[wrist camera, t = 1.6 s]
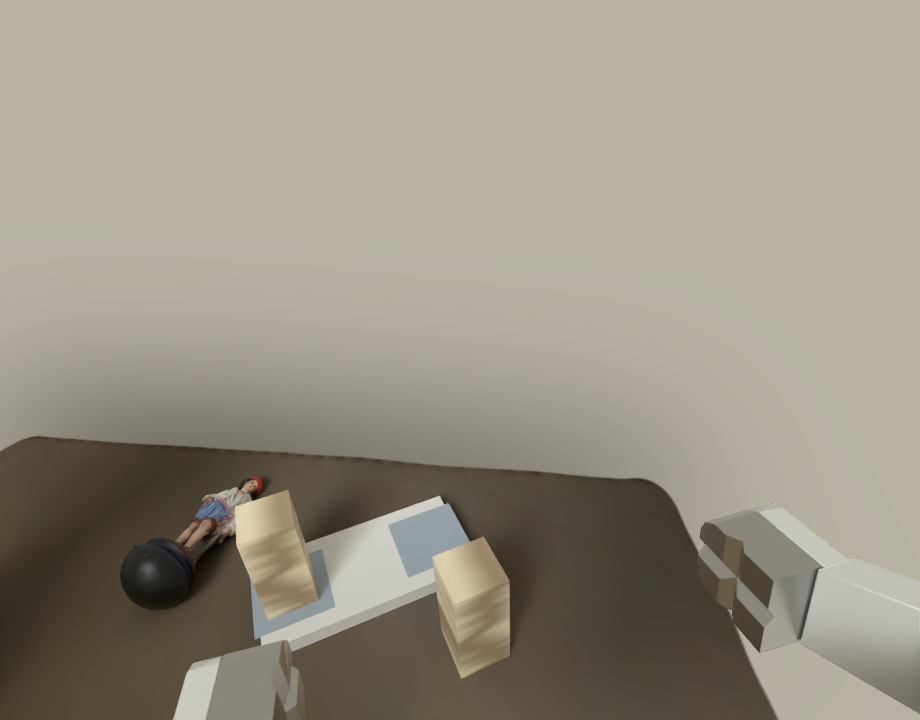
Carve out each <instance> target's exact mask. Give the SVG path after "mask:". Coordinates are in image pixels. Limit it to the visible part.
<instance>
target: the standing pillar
mask: <svg viewBox="0 0 920 720" xmlns="http://www.w3.org/2000/svg"><path fill="white" fill-rule="evenodd" d="M235 521H236V544H237V548H238V550H239V553H240V555H241V557H242V560H243V562H244V564H245V567H246V569H247V571H248V574H249V576H250V579H251V581H252V583H253V586H254V588H255V590H256V593H257V595H258V597H259V600H260V602H261V605H262V607H263V609H264V612H265V614H266V616H267V619H268V620H271V619H274V618H276V617H279V616H281V615H284V614H286V613H289V612H291V611H294V610H296V609H299V608H302V607H304V606H307V605H309V604H312V603H314V602H317V601H319V598H318V593H317V588H316V583H315V578H314V573H313V568H312V563H311V560H310V557H309V554H308V550H307V547H306V544H305V541H304V538H303V535H302V532H301V528H300V525H299V522H298V519H297V516H296V513H295V509H294V506H293V503H292V500H291V497H290V494H289V491H288V490H286V491H283V492H280V493H276V494H273V495H270V496H267V497H264V498H261V499H258V500H254V501H251V502H248V503H245V504H242V505H239V506H235Z"/></svg>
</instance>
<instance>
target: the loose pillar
mask: <svg viewBox="0 0 920 720" xmlns="http://www.w3.org/2000/svg"><path fill="white" fill-rule="evenodd" d="M432 559H433V567H434V575H435V583H436V591H437V599H438V607H439V614H440V622H441V630H442V633H443V635H444V638H445V640H446V643H447V645H448V647H449V650H450V652H451V655H452V657H453V660H454V662H455V664H456V667H457V669H458V672H459V674H460V677H461V679H462V678H464V677H467V676H469V675H471V674H473V673H475V672H477V671H479V670H481V669H483V668H485V667H487V666H489V665H491V664H493V663H495V662H498V661H500V660H502V659H504V658H506V657H508V656H510V586H509V579H508V577H507V576H506V574H505V572H504V571H503V569H502V567H501V565H500V564H499V562H498V560H497V559H496V557H495V555H494V554H493V552H492V550H491V548H490V547H489V545H488V543H487V542H486V540H485V538H484V537H481V538H479V539H476V540H474V541H471V542H468V543H466V544H463V545H461V546H458V547H456V548H453V549H451V550H448V551H446V552H443V553H440V554H438V555H435V556H433V557H432Z"/></svg>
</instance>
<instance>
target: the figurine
mask: <svg viewBox="0 0 920 720" xmlns="http://www.w3.org/2000/svg"><path fill="white" fill-rule="evenodd" d="M262 485H263V481H262V479H261V478H259V477H257V476H253V477H250V478H248V479H246V480H243V481H242V483H241V485H240V487H239V488H237V487H234V488H232V489H230V490H225V491H223V492H220V493H218V494H212V495H206V496H205V497H204V498H203V499H202V506H201V507H200V508H199V510H198V511H197V513H196V516H195V517H193V518H192V520H191V525H190V526H189V528H188V529H186V530H185V531H184V532H183V533H182V534H181V535H180V536H179V538H178V539H177V540H176V541H174V542H173V541H171V540H168V539H166V538H153V539H151V540H149V541H148V542H147V544H141V545H138V546H136V545H135V546H134V547H133V549H132V550H131V551H130V552H129V554H128V555H127V556H126V558H125V559H124V561H123V564H122V567H121V572H120V578H121V584H122V588H123V590H124V592H125V593H126V595H127V596H128V597H129V599H130V600H131V601H132V602H134V603H135V604H137V605H139V606H140V607H143V608H146V609H152V610H163V609H167V608H170V607H172V606H174V605H176V604H178V603H179V602H180V601H181V600H182V599H183V598H184V596H185V594H186V593H187V591H188V586H190V585H191V584H192V583H193V582H194V580H195V567H196V562H197V561H198V560H199V558H200V557H201V556H202V554H203V553H204V552H205V551H206V550H208V549H209V548H210V547H211V546H212V545H213V544H215V543H218V544H221V543H222V542H223V540H224V537H226V536H227V535H228V536H230V537H231V536H233V535H235V534H236V521H235V506H239V505H242V504H245V503H248V502H251V501H254V499H253V498H254V497H256V496H257V495H258V494H259V493H260V491H261V489H262Z"/></svg>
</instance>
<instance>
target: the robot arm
mask: <svg viewBox="0 0 920 720" xmlns="http://www.w3.org/2000/svg"><path fill="white" fill-rule="evenodd" d="M700 539H701V540H702V541H704V543H705V546H704V547H703V548H702V550H701V551H700V552H699V554H698V561H697V569H698V572H699V575H700V578H701V581H702V583H703V585H704V587H705V588H706V590H707V592H708V593H709V594H710V595H711V597H712V598H713V599H714V600H715V602H716V603H718V604H720V605H722V606H724V607H726V608H728V609H730V610H732V616H733V623H734V624H735V625H736V626H737V627H738V629H739V630H740V631H741V632H742V633H743V634H744V635H745V637H746V638H747V639H748V640H749V641H750V642H751V643H752V645H753V646H754V647H755V648H756V649H757V651H758V652H759V653H761V652H765V651H768V650H771V649H775V648H778V647H782V646H785V645H788V644H792V643H795V642H799V641H801V643H800V644H802V645H803V646H805V647H807V648H808V649H810V650H812V651H814V652H815V653H817V654H819V655H820V656H822V657H824V658H826V659H827V660H829V661H831V662H832V663H834V664H836V665H838V666H839V667H841V668H843V669H844V670H846V671H848V672H850V673H851V674H853V675H854V676H856V677H858V678H860V679H861V680H863V681H865V682H867V683H868V684H870V685H872V686H873V687H875V688H877V689H879V690H880V691H882V692H883V693H885V694H887V695H889V696H890V697H892V698H894V699H895V700H897V701H899V702H901V703H902V704H904V705H906V706H907V707H909V708H911V709H912V710H914V711H916V712H918V713H919V714H920V581H918V580H915V579H913V578H910V577H907V576H904V575H901V574H899V573H895V572H893V571H890V570H887V569H885V568H882V567H879V566H876V565H873V564H870V563H868V562H865V561H862V560H860V559H857V558H855V559H851V560H848V559H847V558H846V557H844V556H843V555H842V554H841V553H839V552H838V551H837V550H835V549H834V548H833V547H832V546H830V545H829V544H828V543H826V542H825V541H824V540H823V539H821V538H820V537H819V536H818V535H816V534H815V533H814V532H812V531H811V530H810V529H809V528H807V527H806V526H805V525H804V524H802V523H801V522H800V521H798V520H797V519H796V518H795V517H793V516H792V515H791V514H790V513H788V512H787V511H786V510H784V509H783V508H782V507H780V506H778V505H775V504H769V505H765V506H762V507H758V508H754V509H751V510H749V511H742V512H739V513H736V514H732V515H729V516H725V517H722V518H719V519H715V520H712V521H708V522H705V523H704V525H703V526H702V527H701V532H700ZM291 664H292V650H291V648H290V646H289V643H288V641H287V640H281V641H277V642H273V643H269V644H265V645H261V646H257V647H253V648H249V649H245V650H241V651H237V652H233V653H229V654H225V655H222V656H218V657H214V658H210V659H207V660H203V661H199V662H195V663H193V664H192V666H191V667H190V669H189V671H188V672H187V674H186V677H185V681H184V684H183V688H182V691H181V695H180V698H179V702H178V705H177V708H176V712H175V715H174V719H173V720H306V705H305V692H304V687H303V682H302V678H301V675H300V672H299V669H296V668H294V667H292V666H291Z"/></svg>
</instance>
